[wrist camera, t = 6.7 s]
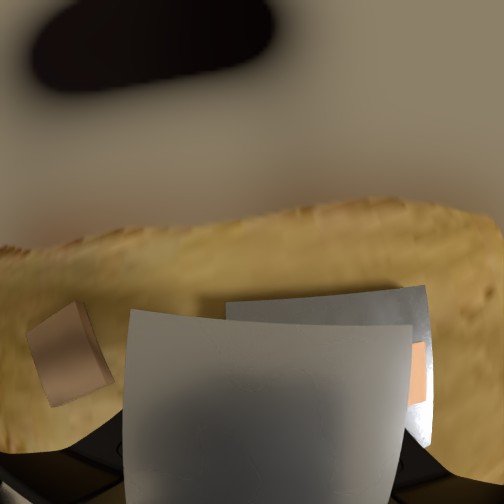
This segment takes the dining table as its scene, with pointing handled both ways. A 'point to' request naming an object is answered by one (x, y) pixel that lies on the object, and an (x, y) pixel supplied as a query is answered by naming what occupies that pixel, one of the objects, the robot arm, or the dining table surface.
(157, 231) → the dining table surface
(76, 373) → the pad
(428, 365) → the flange plate
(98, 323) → the dining table surface
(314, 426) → the grey square peg
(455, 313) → the dining table surface
